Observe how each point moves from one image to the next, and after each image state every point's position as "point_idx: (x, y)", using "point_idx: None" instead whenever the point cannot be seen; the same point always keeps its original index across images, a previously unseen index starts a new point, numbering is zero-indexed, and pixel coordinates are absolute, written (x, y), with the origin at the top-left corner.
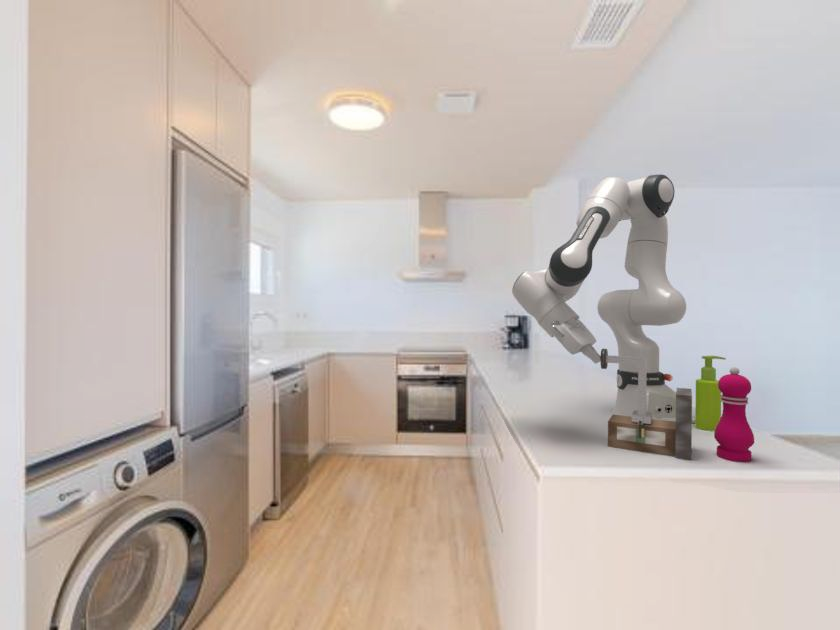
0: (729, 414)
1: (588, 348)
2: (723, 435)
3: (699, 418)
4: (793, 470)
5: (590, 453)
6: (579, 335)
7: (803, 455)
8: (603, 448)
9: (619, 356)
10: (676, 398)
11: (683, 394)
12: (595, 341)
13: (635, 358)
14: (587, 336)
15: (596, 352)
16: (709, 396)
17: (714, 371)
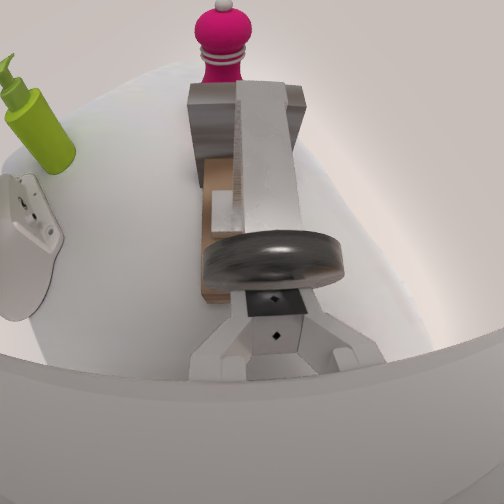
0: (238, 74)
1: (377, 357)
2: None
3: (59, 157)
4: None
5: (348, 319)
6: (498, 417)
7: (169, 74)
8: None
9: (277, 173)
10: (304, 112)
11: (293, 95)
12: (9, 356)
13: (285, 113)
14: (154, 455)
15: (248, 324)
16: (49, 116)
17: (22, 80)
